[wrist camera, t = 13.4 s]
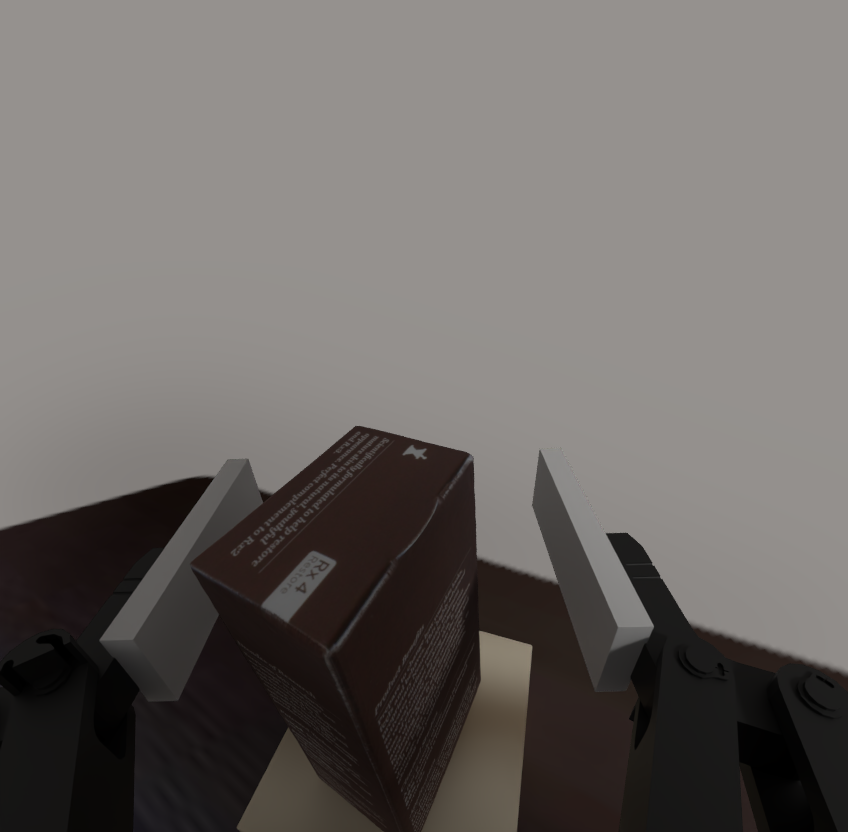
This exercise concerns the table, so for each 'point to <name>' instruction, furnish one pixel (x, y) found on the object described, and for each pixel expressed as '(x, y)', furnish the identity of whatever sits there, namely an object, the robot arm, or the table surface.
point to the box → (362, 614)
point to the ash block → (463, 780)
